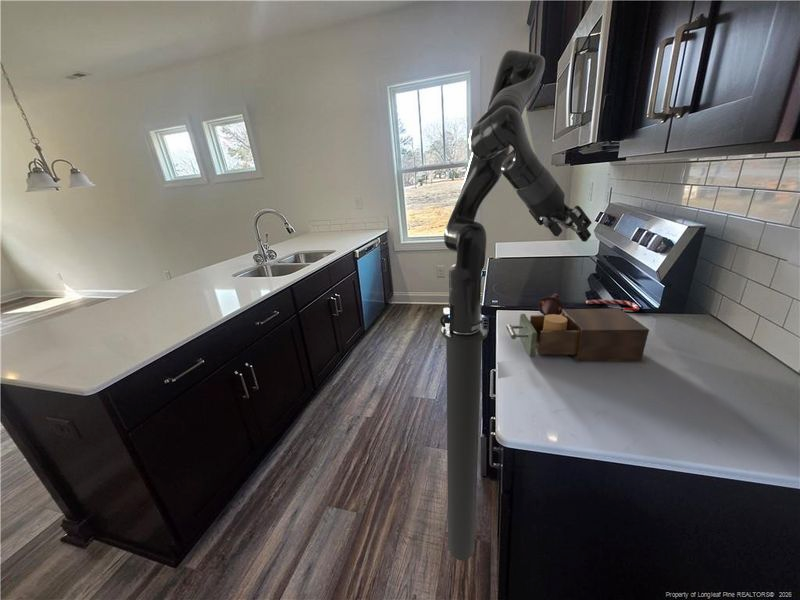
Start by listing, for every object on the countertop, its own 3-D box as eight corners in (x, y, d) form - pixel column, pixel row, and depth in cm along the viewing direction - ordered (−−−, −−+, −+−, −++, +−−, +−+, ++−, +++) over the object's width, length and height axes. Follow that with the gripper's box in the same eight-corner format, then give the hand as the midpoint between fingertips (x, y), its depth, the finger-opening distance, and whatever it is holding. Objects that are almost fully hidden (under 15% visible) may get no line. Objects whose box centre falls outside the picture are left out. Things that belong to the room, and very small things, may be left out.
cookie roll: (544, 349, 80) (548, 323, 77) (538, 339, 85) (541, 314, 82) (567, 349, 79) (571, 322, 76) (559, 339, 84) (563, 314, 81)
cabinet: (577, 361, 78) (582, 330, 74) (558, 337, 89) (562, 309, 86) (641, 361, 76) (649, 329, 73) (613, 336, 88) (619, 308, 84)
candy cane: (585, 297, 112) (636, 300, 106) (584, 300, 112) (635, 304, 107) (587, 305, 105) (642, 309, 99) (587, 308, 106) (641, 313, 100)
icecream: (564, 308, 92) (569, 295, 104) (539, 298, 95) (547, 287, 107) (555, 328, 95) (561, 314, 107) (530, 318, 98) (539, 305, 110)
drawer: (512, 356, 80) (514, 332, 77) (503, 335, 90) (504, 313, 88) (586, 357, 78) (591, 332, 75) (568, 335, 88) (571, 312, 86)
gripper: (575, 176, 64) (608, 227, 71) (527, 177, 76) (559, 220, 84) (551, 206, 64) (587, 253, 72) (507, 202, 77) (541, 243, 84)
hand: (572, 236), depth 78 cm, fingers open, 8 cm apart
